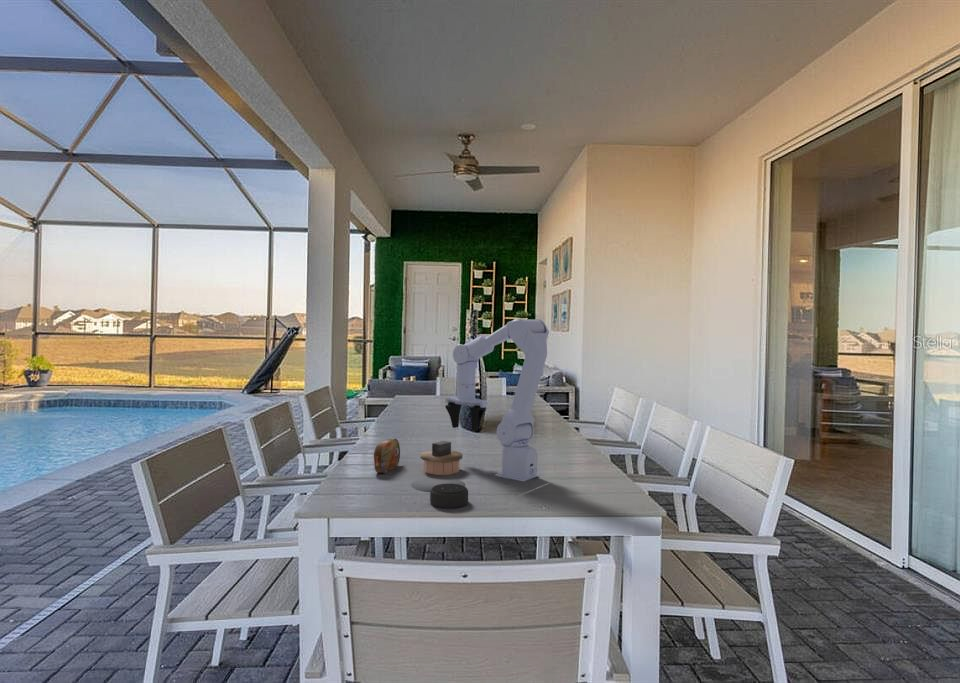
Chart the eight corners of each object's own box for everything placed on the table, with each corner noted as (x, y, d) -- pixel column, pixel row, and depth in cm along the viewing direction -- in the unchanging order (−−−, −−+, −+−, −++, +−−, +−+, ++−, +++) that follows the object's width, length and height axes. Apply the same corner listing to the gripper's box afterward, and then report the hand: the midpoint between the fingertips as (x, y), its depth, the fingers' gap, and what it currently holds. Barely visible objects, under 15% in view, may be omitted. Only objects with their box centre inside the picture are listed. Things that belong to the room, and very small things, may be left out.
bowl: (466, 470, 164) (466, 456, 164) (443, 477, 156) (444, 463, 156) (439, 465, 170) (440, 451, 170) (417, 471, 162) (417, 457, 162)
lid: (470, 456, 164) (471, 442, 164) (443, 464, 155) (444, 449, 155) (439, 450, 172) (439, 436, 171) (411, 457, 162) (411, 443, 162)
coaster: (475, 484, 150) (475, 483, 150) (441, 496, 139) (441, 495, 139) (435, 475, 158) (435, 474, 158) (399, 486, 147) (399, 485, 147)
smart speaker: (427, 500, 137) (427, 483, 136) (464, 498, 139) (464, 481, 138) (432, 512, 128) (433, 494, 128) (471, 509, 130) (471, 492, 130)
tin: (382, 477, 156) (382, 446, 156) (371, 476, 157) (372, 445, 157) (400, 464, 171) (401, 436, 171) (391, 463, 172) (391, 435, 171)
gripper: (439, 383, 174) (438, 427, 174) (477, 387, 165) (476, 433, 166) (453, 381, 180) (453, 424, 180) (491, 385, 171) (490, 430, 171)
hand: (465, 428), depth 173 cm, fingers open, 7 cm apart
